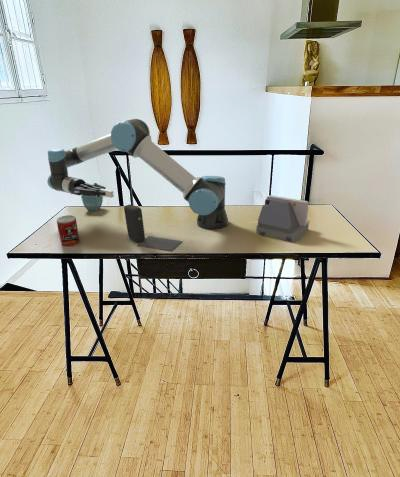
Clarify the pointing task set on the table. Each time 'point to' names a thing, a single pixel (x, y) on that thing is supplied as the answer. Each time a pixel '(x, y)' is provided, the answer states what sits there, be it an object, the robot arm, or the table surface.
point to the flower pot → (92, 202)
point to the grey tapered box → (283, 218)
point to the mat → (159, 243)
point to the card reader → (134, 223)
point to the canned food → (68, 230)
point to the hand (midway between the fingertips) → (112, 194)
